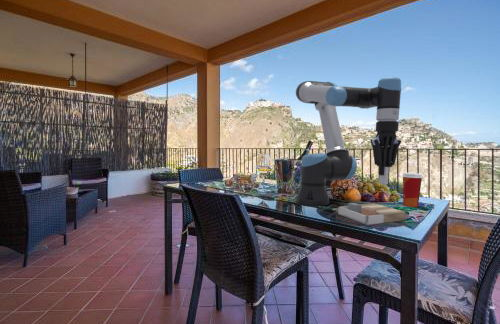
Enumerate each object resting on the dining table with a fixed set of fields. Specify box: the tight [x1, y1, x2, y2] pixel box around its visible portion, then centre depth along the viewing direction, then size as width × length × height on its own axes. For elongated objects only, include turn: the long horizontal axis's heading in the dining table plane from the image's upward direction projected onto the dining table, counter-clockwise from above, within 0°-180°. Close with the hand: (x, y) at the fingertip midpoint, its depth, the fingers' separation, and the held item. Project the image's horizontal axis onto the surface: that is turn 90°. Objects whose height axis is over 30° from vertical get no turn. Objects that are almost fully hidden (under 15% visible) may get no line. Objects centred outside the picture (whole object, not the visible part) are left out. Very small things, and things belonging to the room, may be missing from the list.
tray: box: [337, 205, 384, 226], centre depth 103 cm, size 15×8×3 cm, turn 21°
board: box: [361, 202, 407, 224], centre depth 107 cm, size 15×11×3 cm
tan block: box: [362, 207, 377, 216], centre depth 100 cm, size 4×4×3 cm
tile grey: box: [347, 202, 362, 214], centre depth 107 cm, size 4×4×3 cm
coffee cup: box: [401, 172, 423, 208], centre depth 124 cm, size 8×8×15 cm
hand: (383, 183), depth 102 cm, fingers closed
